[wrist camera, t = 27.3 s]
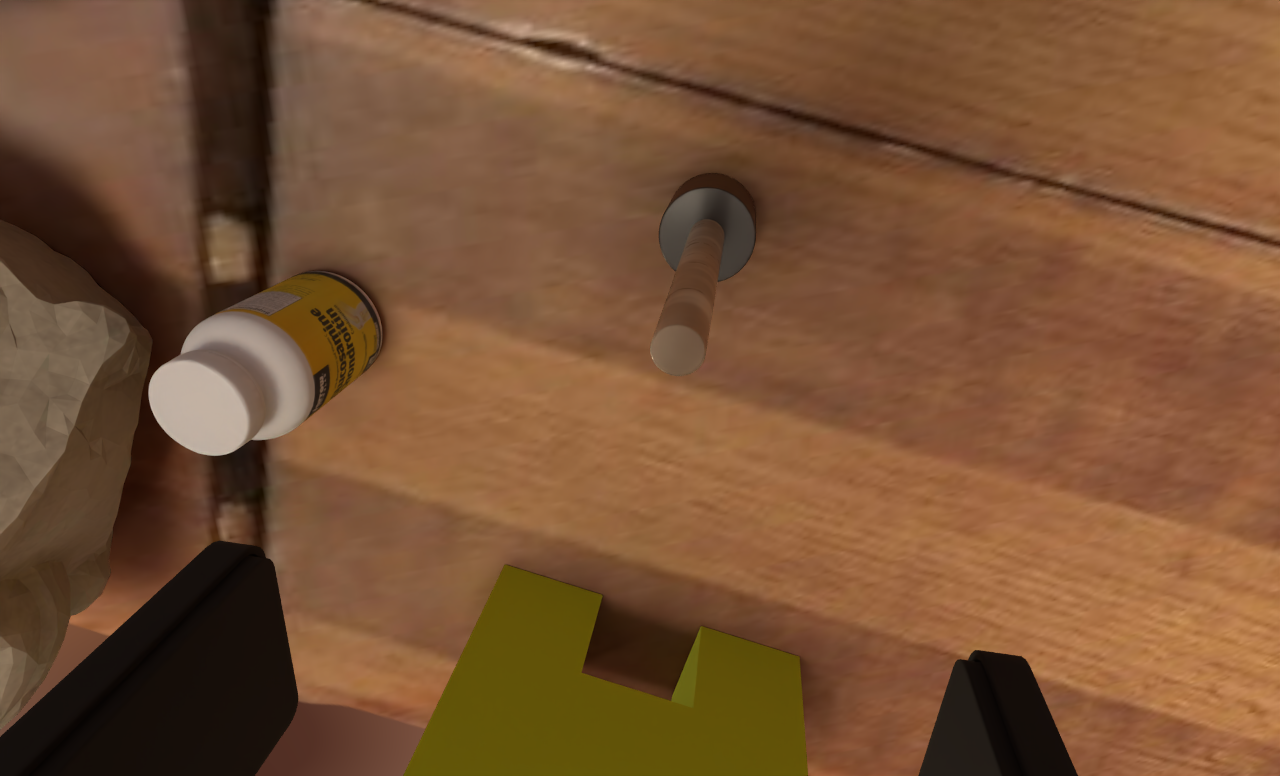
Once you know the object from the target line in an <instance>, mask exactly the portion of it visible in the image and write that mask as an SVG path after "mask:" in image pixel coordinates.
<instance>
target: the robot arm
mask: <svg viewBox="0 0 1280 776" xmlns="http://www.w3.org/2000/svg"><path fill="white" fill-rule="evenodd" d="M297 704H298V691H297V686H296V680H295V675H294V670H293V664H292V659H291V653H290V648H289V643H288V637H287V632H286V626H285V621H284V615H283V610H282V605H281V599H280V594H279V588H278V583H277V577H276V572H275V567H274V564H273V562H272V561H271V560H270V559H267V558H266V557H265V554H264V551H263V550H262V549H261V548H260V547H257V546H252V545H245V544H238V543H232V542H225V541H217V542H213V543H212V544H210V545H209V546H208V547H206V548H205V549H204V550H203V551H202V552H201V553H200V554H199V555H198V556H197V557H195V558H194V559H193V560H192V561H191V562H190V563H189V564H188V565H187V566H186V567H185V568H183V569H182V570H181V571H180V572H179V573H178V574H177V575H176V576H175V577H174V578H173V579H172V580H170V581H169V582H168V583H167V584H166V585H165V586H164V587H163V588H162V589H161V590H160V591H158V592H157V593H156V594H155V595H154V596H153V597H152V598H151V599H150V600H149V601H148V602H146V603H145V604H144V605H143V606H142V607H141V608H140V609H139V610H138V611H137V612H136V613H134V614H133V615H132V616H131V617H130V618H129V619H128V620H127V621H126V622H125V623H124V624H123V625H121V626H120V627H119V628H118V629H117V630H116V631H115V632H114V633H113V634H112V635H111V636H109V637H108V638H107V639H106V640H105V641H104V642H103V643H102V644H101V645H100V646H99V647H97V648H96V649H95V650H94V651H93V652H92V653H91V654H90V655H89V656H88V657H87V658H86V659H84V660H83V661H82V662H81V663H80V664H79V665H78V666H77V667H76V668H75V669H74V670H73V671H71V672H70V673H69V674H68V675H67V676H66V677H65V678H64V679H63V680H62V681H60V682H59V684H57V685H56V686H55V687H54V688H53V689H52V690H51V691H50V692H49V693H47V694H46V695H45V696H44V697H43V698H42V699H41V700H40V701H39V702H38V703H37V704H35V705H34V706H33V707H32V708H31V709H30V710H29V711H28V712H27V713H26V714H25V715H23V716H22V717H21V718H20V719H19V720H18V721H17V722H16V723H15V724H14V725H13V726H12V727H10V728H9V730H7V731H6V732H5V733H4V734H3V735H2V736H1V737H0V776H255V774H256V773H257V772H258V770H259V769H260V767H261V765H262V764H263V763H264V761H265V760H266V758H267V757H268V755H269V754H270V753H271V751H272V750H273V748H274V747H275V745H276V744H277V742H278V741H279V739H280V738H281V736H282V735H283V734H284V732H285V731H286V729H287V728H288V726H289V725H290V723H291V721H292V720H293V717H294V715H295V712H296V708H297ZM919 776H1078V775H1077V773H1076V770H1075V768H1074V766H1073V764H1072V761H1071V759H1070V757H1069V754H1068V752H1067V750H1066V748H1065V745H1064V743H1063V741H1062V738H1061V736H1060V734H1059V732H1058V729H1057V727H1056V725H1055V723H1054V720H1053V718H1052V716H1051V713H1050V711H1049V709H1048V707H1047V704H1046V702H1045V700H1044V697H1043V695H1042V693H1041V691H1040V688H1039V686H1038V684H1037V682H1036V679H1035V677H1034V675H1033V672H1032V670H1031V668H1030V666H1029V664H1028V662H1027V661H1026V659H1024V658H1023V657H1022V656H1015V655H1008V654H1001V653H994V652H987V651H980V650H975V651H974V652H973V653H972V654H971V655H970V657H969V660H961V659H960V660H957V661H956V662H955V665H954V667H953V670H952V673H951V676H950V679H949V682H948V686H947V689H946V692H945V695H944V698H943V701H942V704H941V707H940V710H939V714H938V717H937V720H936V723H935V726H934V729H933V732H932V735H931V738H930V742H929V745H928V748H927V751H926V754H925V757H924V760H923V763H922V766H921V770H920V773H919Z"/></svg>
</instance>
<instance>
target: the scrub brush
mask: <svg viewBox="0 0 1280 776" xmlns="http://www.w3.org/2000/svg"><path fill="white" fill-rule="evenodd" d="M755 241H756V211H755V206H754V203H753V200H752V198H751V196H750V194H749V193H748V191H747V190H746V189H745V188H744V186H743V185H742V184H740V183H739V182H738V181H736V180H735V179H733V178H731V177H729V176H726V175H723V174H717V173H708V174H702V175H698V176H696V177H693V178H691V179H690V180H688V181H687V182H685V183H684V184H683V185H682V186H681V187H680V188H679V189H678V190H677V191H676V193H675V194H674V196H673V198H672V200H671V202H670V203H669V205H668V207H667V209H666V211H665V213H664V215H663V217H662V219H661V223H660V228H659V243H660V248H661V251H662V253H663V256H664V258H665V259H666V261H667V263H668V264H669V265H670V267H671V268H672V269H673V270H674V271H676V273H675V276H674V279H673V281H672V284H671V287H670V290H669V293H668V296H667V299H666V301H665V304H664V307H663V310H662V313H661V316H660V319H659V321H658V324H657V327H656V330H655V333H654V336H653V339H652V342H651V346H650V352H651V357H652V359H653V361H654V363H655V364H656V366H657V367H658V368H659V369H661V370H662V371H663V372H665V373H667V374H670V375H674V376H684V375H688V374H691V373H693V372H694V371H696V370H697V369H698V368H699V367H700V366H701V365H702V363H703V361H704V359H705V355H706V349H707V343H708V337H709V331H710V325H711V318H712V312H713V306H714V300H715V294H716V287H717V282H720V281H723V280H726V279H728V278H730V277H732V276H733V275H735V274H736V273H738V272H739V271H740V270H741V269H742V268H743V267H744V266H745V265H746V263H747V262H748V260H749V259H750V257H751V255H752V252H753V249H754V246H755Z"/></svg>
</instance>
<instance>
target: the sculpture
mask: <svg viewBox="0 0 1280 776" xmlns="http://www.w3.org/2000/svg"><path fill="white" fill-rule="evenodd" d="M152 343H153V340H152V338H151V336H150V334H149V332H148V330H147V329H145V328H144V327H143V326H142V325H141V324H140V322H139V321H138V320H137V319H136V318H135V317H134V316H133V315H132V314H131V313H130V312H129V311H128V310H127V309H126V308H125V307H124V306H123V305H122V304H121V303H120V302H119V301H118V300H117V299H115V298H114V297H112V296H111V295H110V294H108V293H107V292H106V291H105V290H103V289H102V288H101V287H100V286H98V285H97V283H96V282H95V281H94V280H93V278H92V277H91V276H90V274H89V273H88V272H87V271H86V270H85V269H83V268H82V267H81V266H79V265H78V264H77V263H76V262H74V261H73V260H72V259H70V258H69V257H66V256H64V255H62V254H60V253H57V252H55V251H53V250H52V249H51V248H50V247H49V246H48V245H47V244H46V243H44V242H43V241H42V240H40V239H39V238H38V237H36V236H34V235H32V234H30V233H28V232H27V231H25V230H23V229H21V228H19V227H17V226H15V225H13V224H10V223H7V222H5V221H2V220H0V729H1V728H3V727H4V726H5V725H6V724H7V723H8V722H9V721H11V720H12V719H13V718H14V717H15V716H16V715H17V714H18V713H19V712H20V711H21V710H22V708H23V707H24V706H25V705H26V704H27V702H28V701H29V700H30V698H31V697H32V696H33V694H34V693H35V692H36V690H37V689H38V688H39V686H40V685H41V684H42V682H43V681H44V679H45V678H46V676H47V674H48V672H49V670H50V668H51V666H52V664H53V662H54V660H55V658H56V657H57V654H58V651H59V650H60V648H61V645H62V643H63V641H64V638H65V634H66V630H67V626H68V623H69V619H70V617H71V615H76V614H78V613H80V612H81V611H83V610H85V609H86V608H88V607H89V606H90V605H91V604H92V603H93V602H94V601H95V600H96V599H97V598H98V597H99V596H100V595H101V594H102V592H103V590H104V588H105V585H106V583H107V581H108V578H109V576H110V574H111V569H110V563H109V557H110V548H111V542H112V536H113V525H114V522H115V519H116V516H117V513H118V509H119V504H120V500H121V495H122V490H123V485H124V482H125V479H126V476H127V474H128V471H129V468H130V465H131V449H132V443H133V437H134V432H135V430H136V428H137V425H138V419H139V412H140V405H141V398H142V390H143V386H144V382H145V378H146V375H147V371H148V367H149V362H150V355H151V349H152Z"/></svg>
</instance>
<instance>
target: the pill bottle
mask: <svg viewBox="0 0 1280 776" xmlns="http://www.w3.org/2000/svg"><path fill="white" fill-rule="evenodd" d="M381 345H382V325H381V321H380V318H379V315H378V312H377V310H376V308H375V306H374V304H373V303H372V301H371V300H370V298H369V297H368V296H367V295H366V294H365V293H364V292H363V290H361V289H360V288H359V287H358V286H357V285H355V284H354V283H353V282H351V281H350V280H348V279H346V278H344V277H342V276H340V275H337V274H334V273H330V272H324V271H310V272H305V273H301V274H298V275H295V276H293V277H291V278H289V279H287V280H285V281H283V282H281V283H279V284H277V285H275V286H273V287H271V288H268V289H266V290H264V291H262V292H260V293H258V294H256V295H254V296H252V297H250V298H248V299H246V300H244V301H242V302H240V303H237V304H235V305H233V306H231V307H229V308H227V309H225V310H223V311H221V312H219V313H217V314H215V315H213V316H211V317H209V318H207V319H206V320H204V321H202V322H201V323H199V324H198V325H197V326H196V327H195V328H194V329H193V330H192V331H191V332H190V333H189V335H188V336H187V338H186V340H185V342H184V344H183V347H182V350H181V355H179V356H177V357H176V358H174V359H172V360H170V361H169V362H167V363H165V364H164V365H162V366H161V367H159V368H158V370H157V371H156V372H155V373H154V374H153V376H152V378H151V380H150V384H149V391H148V396H149V402H150V406H151V410H152V412H153V414H154V416H155V418H156V420H157V422H158V423H159V425H160V426H161V427H162V428H163V430H164V431H165V432H166V433H167V434H168V435H169V436H170V437H171V438H172V439H174V440H175V441H176V442H178V443H179V444H181V445H182V446H184V447H186V448H188V449H190V450H192V451H194V452H197V453H199V454H204V455H212V456H219V455H225V454H228V453H231V452H233V451H235V450H237V449H238V448H240V447H241V446H242V445H244V444H245V443H247V442H248V441H249V440H266V439H273V438H277V437H280V436H283V435H285V434H287V433H289V432H291V431H292V430H294V429H295V428H297V427H298V426H299V425H301V424H302V423H303V422H304V421H305V420H307V419H308V418H309V417H310V416H311V415H313V414H314V413H315V412H316V411H318V410H319V409H320V408H321V407H323V406H324V405H325V404H326V403H327V402H329V401H330V400H331V399H332V398H333V397H335V396H336V395H337V394H338V393H340V392H341V391H342V390H343V389H344V388H346V387H347V386H348V385H349V384H350V383H352V382H353V381H354V380H355V379H356V378H358V377H359V376H360V375H361V374H362V373H364V372H365V371H366V370H367V369H368V368H369V367H370V366H371V365H372V364H373V362H374V361H375V359H376V358H377V356H378V354H379V352H380V348H381Z"/></svg>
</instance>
